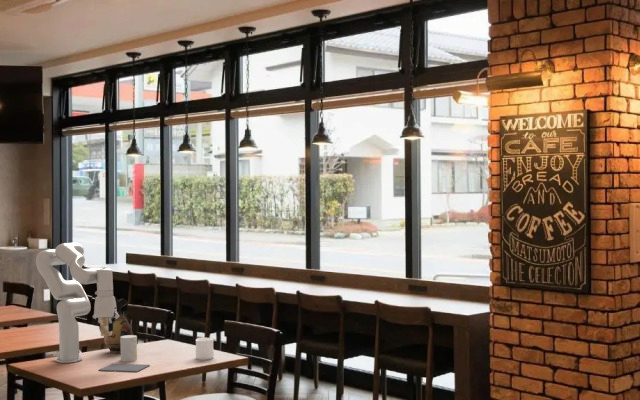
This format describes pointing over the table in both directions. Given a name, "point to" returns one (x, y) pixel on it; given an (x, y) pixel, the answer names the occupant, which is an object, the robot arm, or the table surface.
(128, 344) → the cup
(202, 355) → the cup
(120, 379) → the table surface
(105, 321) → the block
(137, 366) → the mat
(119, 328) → the ceramic jug
